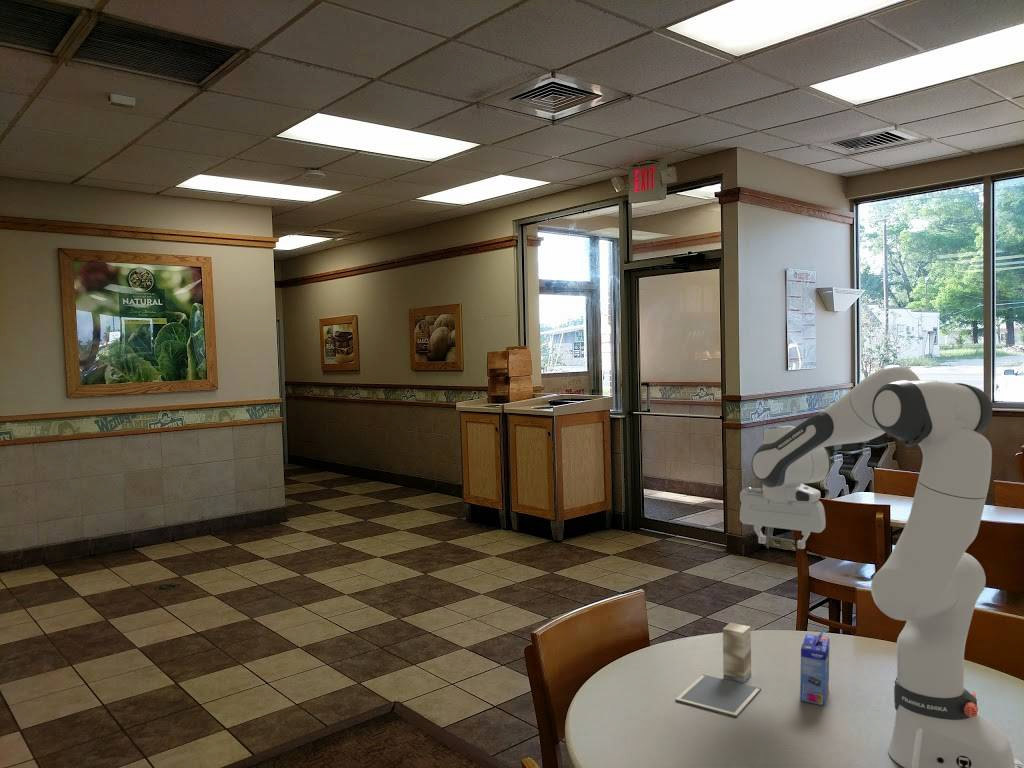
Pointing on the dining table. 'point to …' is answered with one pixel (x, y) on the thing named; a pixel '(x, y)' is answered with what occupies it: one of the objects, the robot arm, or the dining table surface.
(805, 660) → the ink cartridge box
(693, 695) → the rubber mat
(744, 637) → the birch block
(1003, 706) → the dining table surface
